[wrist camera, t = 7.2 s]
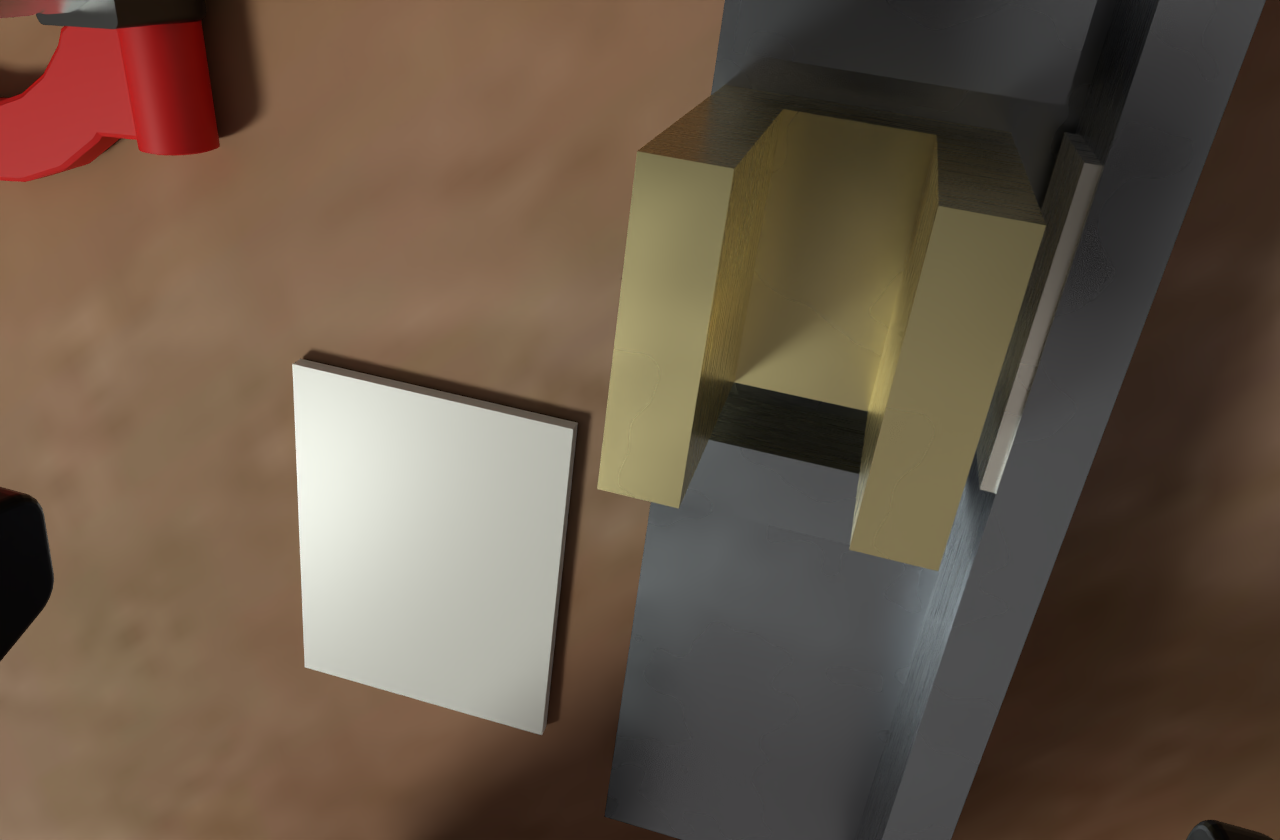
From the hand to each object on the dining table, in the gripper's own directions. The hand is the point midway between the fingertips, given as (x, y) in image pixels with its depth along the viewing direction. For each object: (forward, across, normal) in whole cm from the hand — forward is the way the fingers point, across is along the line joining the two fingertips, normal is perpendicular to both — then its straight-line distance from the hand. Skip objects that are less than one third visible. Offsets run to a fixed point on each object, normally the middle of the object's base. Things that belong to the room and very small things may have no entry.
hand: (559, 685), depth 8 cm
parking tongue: (+12, +6, +8) cm, 15 cm away
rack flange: (+11, -2, +2) cm, 12 cm away
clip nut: (+9, -1, -1) cm, 10 cm away
